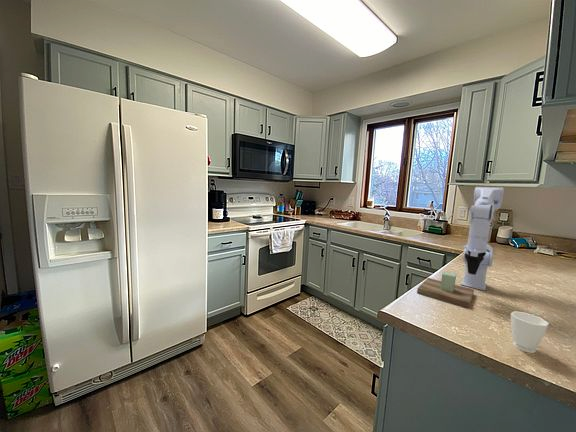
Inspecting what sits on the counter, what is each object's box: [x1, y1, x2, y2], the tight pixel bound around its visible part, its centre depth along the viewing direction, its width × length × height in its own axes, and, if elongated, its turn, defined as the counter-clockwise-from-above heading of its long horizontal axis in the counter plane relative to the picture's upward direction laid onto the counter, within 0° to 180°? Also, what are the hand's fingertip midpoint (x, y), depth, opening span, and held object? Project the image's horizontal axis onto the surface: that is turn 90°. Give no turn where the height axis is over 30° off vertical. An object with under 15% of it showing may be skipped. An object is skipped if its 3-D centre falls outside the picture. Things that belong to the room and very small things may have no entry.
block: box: [440, 271, 457, 292], centre depth 93 cm, size 4×4×6 cm
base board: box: [416, 277, 475, 309], centre depth 94 cm, size 16×16×2 cm
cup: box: [510, 310, 550, 354], centre depth 63 cm, size 7×10×8 cm
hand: (473, 271), depth 92 cm, fingers open, 7 cm apart
